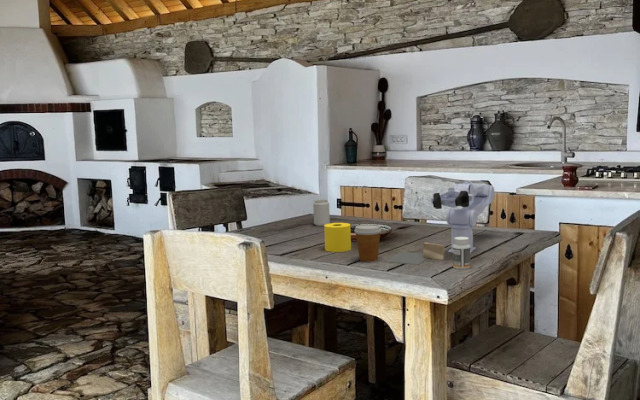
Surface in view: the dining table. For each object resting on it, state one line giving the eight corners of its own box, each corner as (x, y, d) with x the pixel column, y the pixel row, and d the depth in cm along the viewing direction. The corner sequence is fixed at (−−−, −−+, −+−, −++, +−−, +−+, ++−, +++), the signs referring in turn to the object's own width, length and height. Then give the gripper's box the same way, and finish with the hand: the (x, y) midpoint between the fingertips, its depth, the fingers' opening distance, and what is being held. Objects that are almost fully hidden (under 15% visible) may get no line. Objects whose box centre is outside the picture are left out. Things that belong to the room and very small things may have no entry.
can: (312, 224, 293) (311, 199, 292) (327, 223, 295) (326, 198, 294) (316, 226, 286) (315, 201, 284) (331, 225, 288) (331, 200, 287)
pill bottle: (467, 265, 205) (467, 235, 204) (472, 269, 199) (472, 239, 198) (450, 265, 205) (450, 236, 204) (455, 270, 199) (455, 240, 198)
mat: (400, 253, 226) (400, 251, 226) (432, 255, 221) (432, 254, 221) (385, 262, 212) (385, 261, 212) (418, 265, 207) (418, 264, 207)
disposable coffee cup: (359, 256, 223) (358, 223, 222) (385, 257, 220) (384, 224, 218) (351, 262, 214) (350, 228, 213) (377, 263, 211) (377, 229, 209)
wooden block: (424, 256, 218) (425, 242, 217) (443, 259, 215) (444, 245, 214) (423, 257, 216) (423, 243, 216) (442, 260, 213) (443, 246, 212)
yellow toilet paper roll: (321, 248, 239) (320, 224, 238) (344, 245, 243) (344, 222, 242) (330, 253, 230) (330, 228, 229) (355, 250, 234) (354, 225, 232)
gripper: (435, 186, 221) (423, 193, 209) (475, 183, 214) (464, 190, 202) (438, 206, 222) (425, 213, 210) (477, 203, 215) (467, 211, 203)
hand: (445, 203), depth 206 cm, fingers open, 7 cm apart
